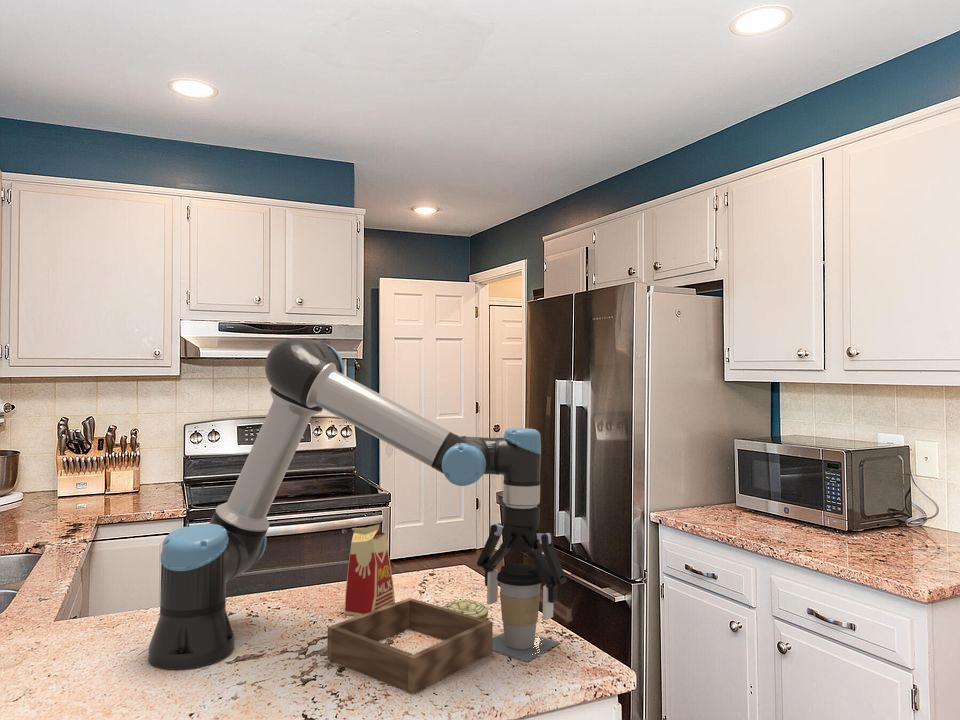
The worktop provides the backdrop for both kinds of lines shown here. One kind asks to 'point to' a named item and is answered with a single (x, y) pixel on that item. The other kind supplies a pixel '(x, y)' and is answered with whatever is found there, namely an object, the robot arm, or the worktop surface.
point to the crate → (401, 669)
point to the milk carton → (368, 573)
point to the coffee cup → (519, 603)
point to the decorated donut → (468, 608)
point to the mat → (525, 654)
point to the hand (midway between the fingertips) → (519, 610)
